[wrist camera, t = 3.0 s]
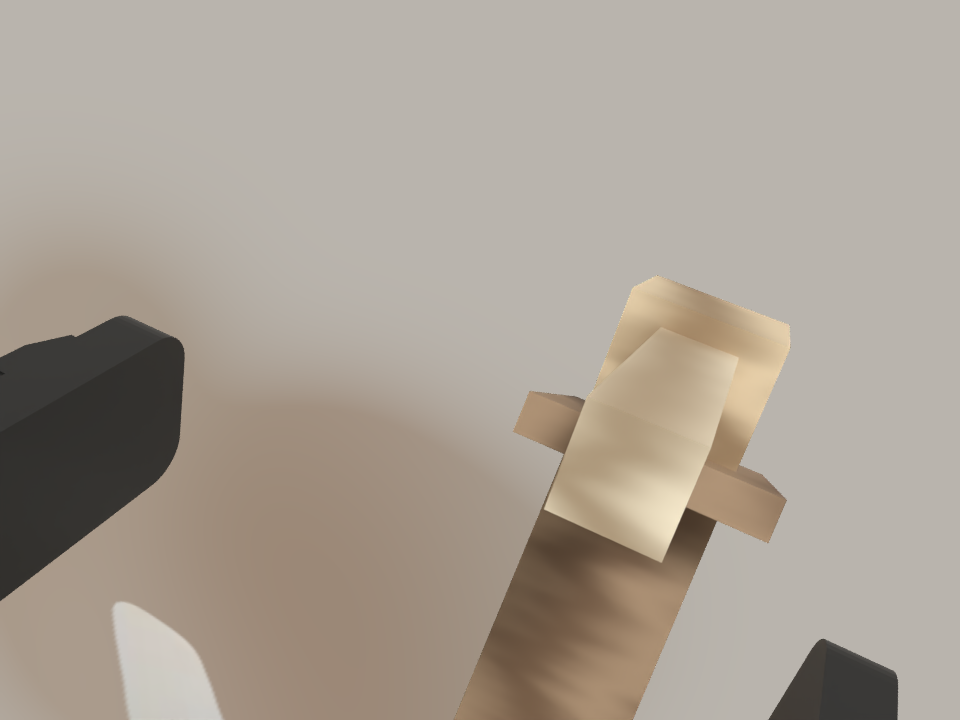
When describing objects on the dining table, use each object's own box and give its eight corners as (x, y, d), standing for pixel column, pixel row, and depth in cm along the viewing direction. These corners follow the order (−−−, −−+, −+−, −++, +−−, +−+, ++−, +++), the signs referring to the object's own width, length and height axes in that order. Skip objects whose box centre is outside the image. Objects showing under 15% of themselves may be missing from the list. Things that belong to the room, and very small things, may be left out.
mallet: (743, 429, 40) (789, 324, 39) (706, 628, 21) (794, 434, 20) (617, 377, 42) (657, 275, 40) (474, 519, 22) (542, 332, 21)
